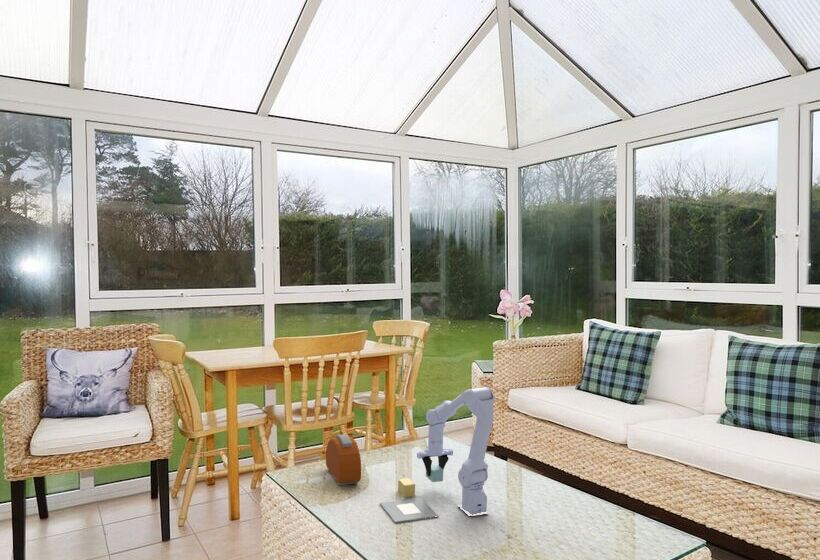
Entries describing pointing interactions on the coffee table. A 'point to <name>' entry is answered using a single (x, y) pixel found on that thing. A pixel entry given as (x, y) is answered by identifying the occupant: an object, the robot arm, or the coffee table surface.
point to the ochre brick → (406, 487)
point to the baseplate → (408, 510)
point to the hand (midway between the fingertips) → (434, 474)
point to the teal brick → (435, 473)
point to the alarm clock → (343, 459)
